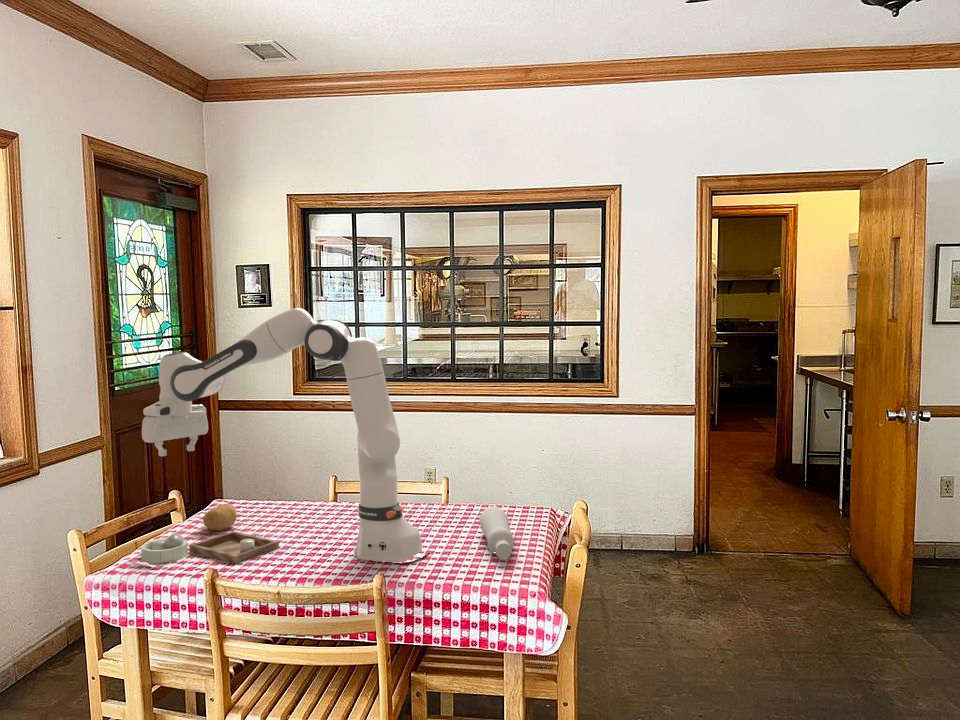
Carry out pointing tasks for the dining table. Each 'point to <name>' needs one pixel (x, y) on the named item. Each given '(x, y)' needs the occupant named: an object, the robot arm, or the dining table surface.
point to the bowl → (163, 553)
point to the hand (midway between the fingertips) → (176, 453)
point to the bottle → (497, 531)
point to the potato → (220, 517)
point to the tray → (232, 547)
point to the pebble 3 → (246, 545)
